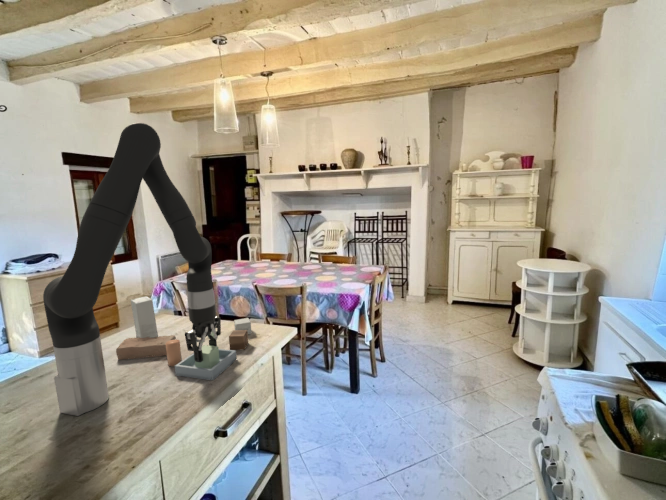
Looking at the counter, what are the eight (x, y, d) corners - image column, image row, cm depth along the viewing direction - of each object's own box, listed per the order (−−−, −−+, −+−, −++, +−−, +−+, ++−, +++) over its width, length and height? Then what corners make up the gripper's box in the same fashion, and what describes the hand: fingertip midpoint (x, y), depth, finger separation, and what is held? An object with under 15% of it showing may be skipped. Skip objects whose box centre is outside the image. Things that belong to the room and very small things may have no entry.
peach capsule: (175, 366, 101) (173, 345, 100) (165, 365, 102) (162, 344, 101) (184, 360, 105) (182, 340, 104) (174, 359, 106) (172, 338, 105)
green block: (210, 369, 98) (208, 353, 97) (195, 367, 99) (194, 352, 98) (219, 361, 102) (218, 346, 102) (205, 359, 104) (204, 344, 103)
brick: (177, 345, 117) (176, 332, 117) (170, 356, 109) (169, 342, 108) (127, 350, 114) (125, 337, 114) (116, 361, 106) (114, 348, 106)
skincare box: (158, 337, 124) (154, 299, 122) (140, 342, 120) (135, 303, 117) (151, 331, 130) (147, 295, 128) (134, 335, 126) (129, 298, 123)
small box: (249, 329, 130) (248, 317, 129) (251, 334, 125) (251, 322, 124) (234, 331, 128) (233, 319, 127) (236, 337, 122) (235, 324, 122)
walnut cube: (244, 349, 112) (243, 336, 111) (229, 350, 112) (228, 336, 111) (248, 343, 117) (247, 330, 116) (234, 343, 117) (233, 330, 116)
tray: (212, 380, 93) (211, 370, 92) (175, 375, 96) (174, 365, 96) (236, 359, 105) (236, 350, 104) (203, 355, 108) (202, 346, 108)
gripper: (196, 312, 90) (201, 369, 92) (226, 297, 103) (230, 347, 106) (173, 311, 92) (179, 366, 94) (206, 296, 105) (210, 344, 108)
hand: (206, 355), depth 100 cm, fingers open, 6 cm apart
